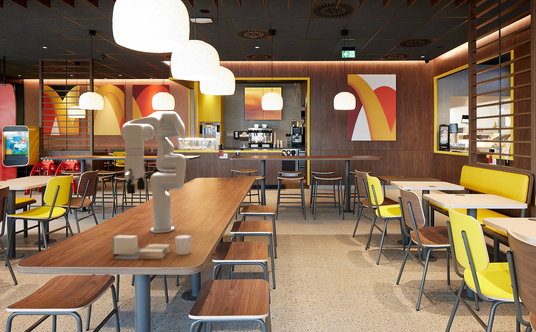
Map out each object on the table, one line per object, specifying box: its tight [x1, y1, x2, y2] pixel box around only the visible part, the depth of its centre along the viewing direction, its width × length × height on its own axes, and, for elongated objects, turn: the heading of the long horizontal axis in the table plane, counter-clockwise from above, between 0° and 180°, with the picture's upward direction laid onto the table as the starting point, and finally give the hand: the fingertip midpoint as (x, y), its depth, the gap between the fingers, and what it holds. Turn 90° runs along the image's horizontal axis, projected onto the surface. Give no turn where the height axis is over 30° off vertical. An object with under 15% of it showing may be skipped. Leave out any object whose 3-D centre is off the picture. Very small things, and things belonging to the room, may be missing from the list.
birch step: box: [138, 243, 172, 260], centre depth 142 cm, size 11×9×3 cm
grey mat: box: [113, 247, 144, 261], centre depth 143 cm, size 14×10×1 cm
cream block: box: [112, 234, 139, 255], centre depth 143 cm, size 4×7×9 cm
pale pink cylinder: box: [174, 234, 192, 256], centre depth 145 cm, size 7×7×7 cm
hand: (136, 191), depth 148 cm, fingers open, 9 cm apart
